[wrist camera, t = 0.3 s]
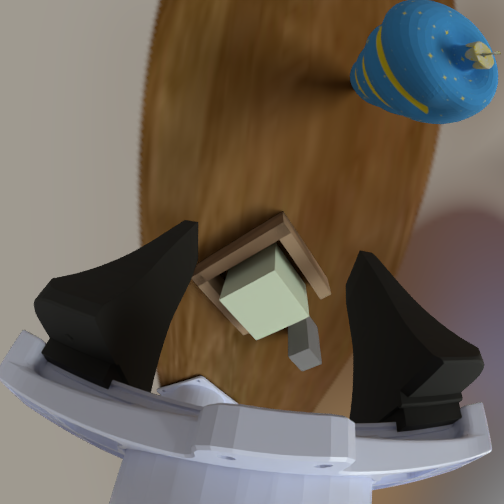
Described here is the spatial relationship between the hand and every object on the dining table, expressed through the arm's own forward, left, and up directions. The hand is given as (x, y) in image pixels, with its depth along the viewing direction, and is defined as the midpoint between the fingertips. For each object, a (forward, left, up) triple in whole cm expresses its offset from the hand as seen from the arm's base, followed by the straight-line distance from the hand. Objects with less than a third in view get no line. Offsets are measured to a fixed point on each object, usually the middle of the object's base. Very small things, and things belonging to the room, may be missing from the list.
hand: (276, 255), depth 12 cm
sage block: (-5, -9, -10) cm, 14 cm away
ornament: (+10, +4, -11) cm, 15 cm away
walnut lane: (-5, -6, -10) cm, 13 cm away
